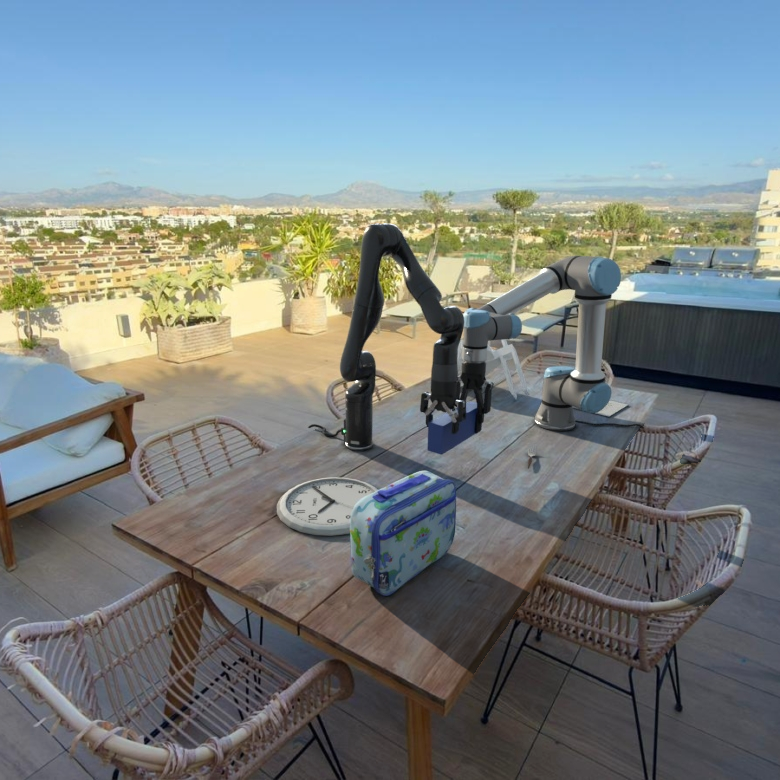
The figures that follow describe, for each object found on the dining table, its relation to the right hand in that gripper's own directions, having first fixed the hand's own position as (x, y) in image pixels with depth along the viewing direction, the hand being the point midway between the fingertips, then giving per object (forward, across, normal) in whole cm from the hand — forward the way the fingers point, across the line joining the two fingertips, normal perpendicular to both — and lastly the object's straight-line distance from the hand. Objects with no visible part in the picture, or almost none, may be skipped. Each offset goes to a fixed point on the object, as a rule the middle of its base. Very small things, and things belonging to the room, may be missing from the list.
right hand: (469, 429), depth 170 cm
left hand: (-6, 0, -18) cm, 19 cm away
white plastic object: (+11, -31, +68) cm, 76 cm away
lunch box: (+10, +17, -60) cm, 64 cm away
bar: (+1, 0, -9) cm, 9 cm away
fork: (+11, +17, +12) cm, 23 cm away
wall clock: (+10, -14, -50) cm, 53 cm away
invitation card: (+11, +19, +84) cm, 87 cm away
